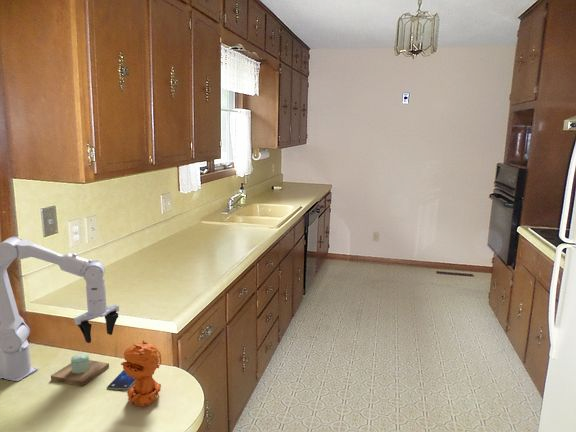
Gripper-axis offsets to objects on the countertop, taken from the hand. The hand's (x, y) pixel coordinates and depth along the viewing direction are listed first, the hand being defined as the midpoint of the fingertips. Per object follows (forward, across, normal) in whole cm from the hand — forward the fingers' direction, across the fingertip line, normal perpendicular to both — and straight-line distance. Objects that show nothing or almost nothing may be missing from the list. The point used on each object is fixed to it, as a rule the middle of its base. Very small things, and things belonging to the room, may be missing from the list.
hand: (99, 337), depth 147 cm
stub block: (+9, -7, 0) cm, 12 cm away
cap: (+8, -7, -1) cm, 11 cm away
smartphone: (+10, +1, -15) cm, 18 cm away
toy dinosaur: (+10, -4, -29) cm, 31 cm away
